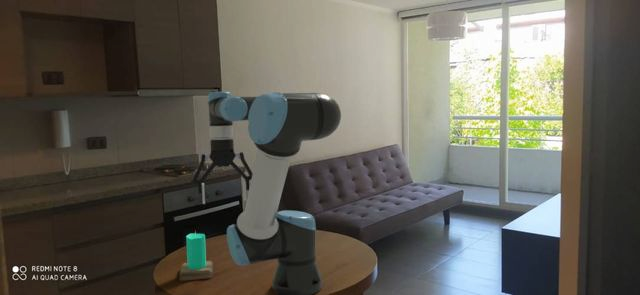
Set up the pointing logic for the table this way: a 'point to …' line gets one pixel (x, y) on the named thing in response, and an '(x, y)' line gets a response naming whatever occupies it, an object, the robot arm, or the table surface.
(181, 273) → the stand
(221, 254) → the table surface
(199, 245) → the candle
